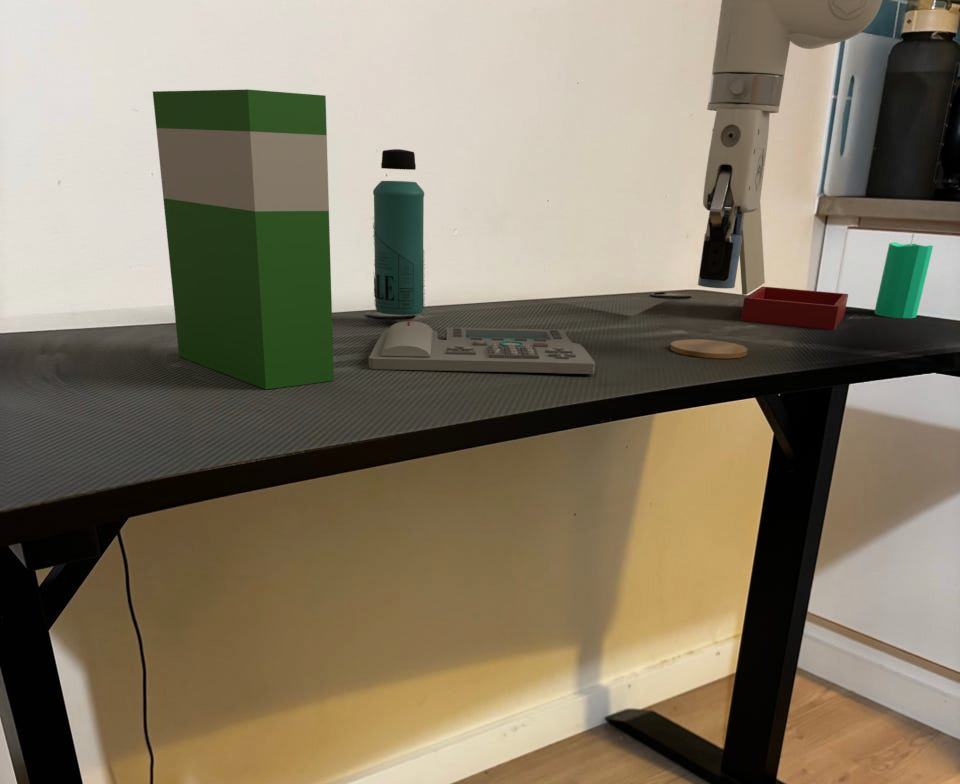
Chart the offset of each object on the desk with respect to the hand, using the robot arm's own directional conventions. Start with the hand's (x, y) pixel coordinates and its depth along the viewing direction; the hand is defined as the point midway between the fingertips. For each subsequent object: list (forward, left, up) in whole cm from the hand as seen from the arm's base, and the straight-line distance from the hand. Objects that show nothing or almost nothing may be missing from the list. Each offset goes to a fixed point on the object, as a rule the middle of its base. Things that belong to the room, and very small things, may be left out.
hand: (717, 275), depth 111 cm
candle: (-19, -44, -9) cm, 49 cm away
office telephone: (+22, +18, -9) cm, 30 cm away
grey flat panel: (+1, -30, +2) cm, 30 cm away
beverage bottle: (+39, +5, -9) cm, 40 cm away
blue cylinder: (0, 0, -1) cm, 1 cm away
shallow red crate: (-6, -30, -9) cm, 32 cm away
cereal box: (+38, +38, -9) cm, 54 cm away
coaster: (0, 0, -9) cm, 9 cm away
